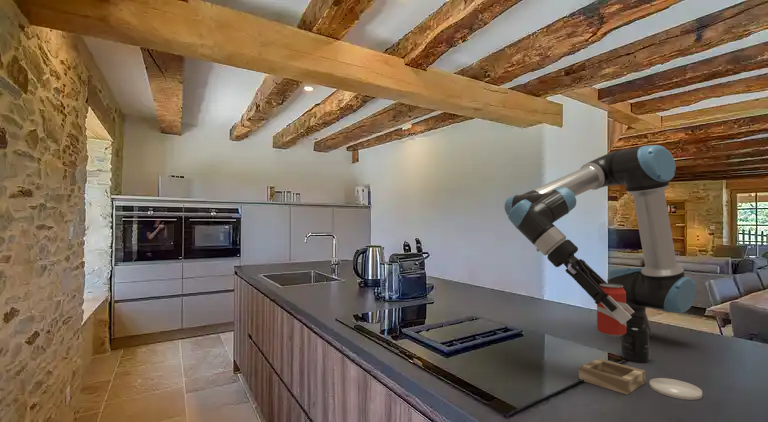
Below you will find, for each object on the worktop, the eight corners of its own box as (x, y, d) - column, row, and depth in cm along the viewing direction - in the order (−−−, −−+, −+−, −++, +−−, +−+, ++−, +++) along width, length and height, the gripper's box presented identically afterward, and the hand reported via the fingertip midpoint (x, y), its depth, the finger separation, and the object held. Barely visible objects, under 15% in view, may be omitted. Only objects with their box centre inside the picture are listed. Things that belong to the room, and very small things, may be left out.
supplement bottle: (653, 364, 113) (653, 320, 113) (626, 362, 114) (626, 319, 115) (643, 356, 120) (642, 315, 120) (617, 354, 121) (617, 313, 121)
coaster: (658, 378, 102) (658, 374, 102) (707, 392, 94) (707, 387, 94) (643, 388, 96) (642, 384, 96) (694, 404, 88) (694, 399, 88)
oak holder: (598, 369, 108) (598, 358, 108) (645, 382, 100) (645, 370, 100) (578, 379, 101) (578, 367, 101) (627, 394, 93) (627, 381, 93)
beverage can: (632, 336, 99) (631, 286, 99) (611, 338, 97) (610, 287, 97) (611, 329, 104) (611, 282, 105) (591, 331, 103) (591, 283, 103)
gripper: (555, 254, 118) (620, 319, 108) (536, 260, 102) (610, 336, 92) (575, 236, 115) (644, 301, 105) (558, 239, 99) (637, 316, 89)
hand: (628, 317), depth 99 cm, fingers closed on beverage can, 6 cm apart
